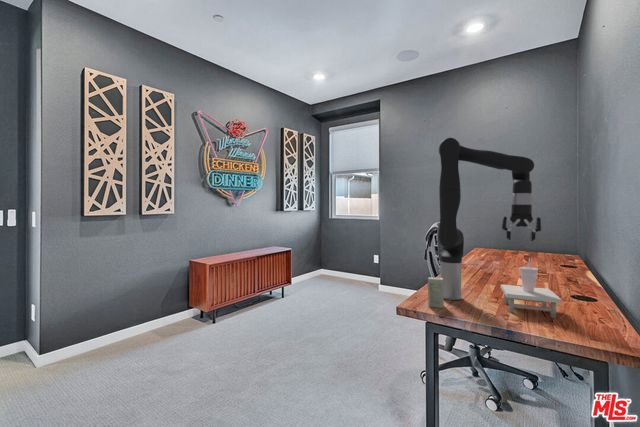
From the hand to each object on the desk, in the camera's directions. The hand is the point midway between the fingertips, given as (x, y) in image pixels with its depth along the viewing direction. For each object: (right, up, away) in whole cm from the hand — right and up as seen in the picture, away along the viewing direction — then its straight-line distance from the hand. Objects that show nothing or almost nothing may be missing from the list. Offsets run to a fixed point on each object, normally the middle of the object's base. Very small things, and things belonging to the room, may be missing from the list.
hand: (520, 240), depth 134 cm
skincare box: (-38, -29, -2) cm, 48 cm away
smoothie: (-1, -21, -7) cm, 22 cm away
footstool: (-1, -29, -7) cm, 30 cm away
